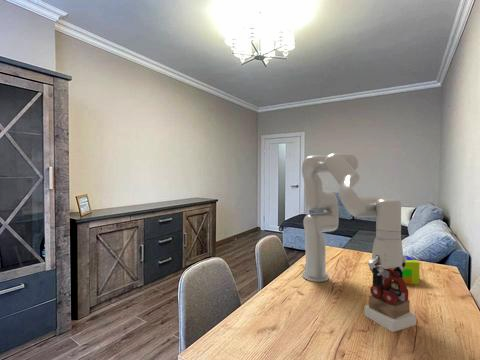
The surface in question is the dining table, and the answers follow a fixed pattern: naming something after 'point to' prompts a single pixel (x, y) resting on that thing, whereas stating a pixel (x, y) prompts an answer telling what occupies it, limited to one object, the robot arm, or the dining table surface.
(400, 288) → the toy fire truck
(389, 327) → the grey block
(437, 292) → the dining table surface
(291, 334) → the dining table surface
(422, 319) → the dining table surface
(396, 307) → the walnut block
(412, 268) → the puzzle toy
